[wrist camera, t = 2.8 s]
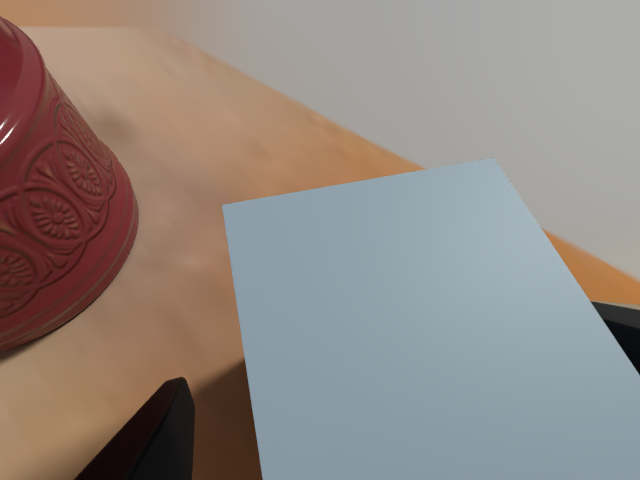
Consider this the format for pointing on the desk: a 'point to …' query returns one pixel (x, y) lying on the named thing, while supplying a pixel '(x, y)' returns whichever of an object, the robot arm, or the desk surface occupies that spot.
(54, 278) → the canister
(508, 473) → the blue pillar
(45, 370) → the desk surface
